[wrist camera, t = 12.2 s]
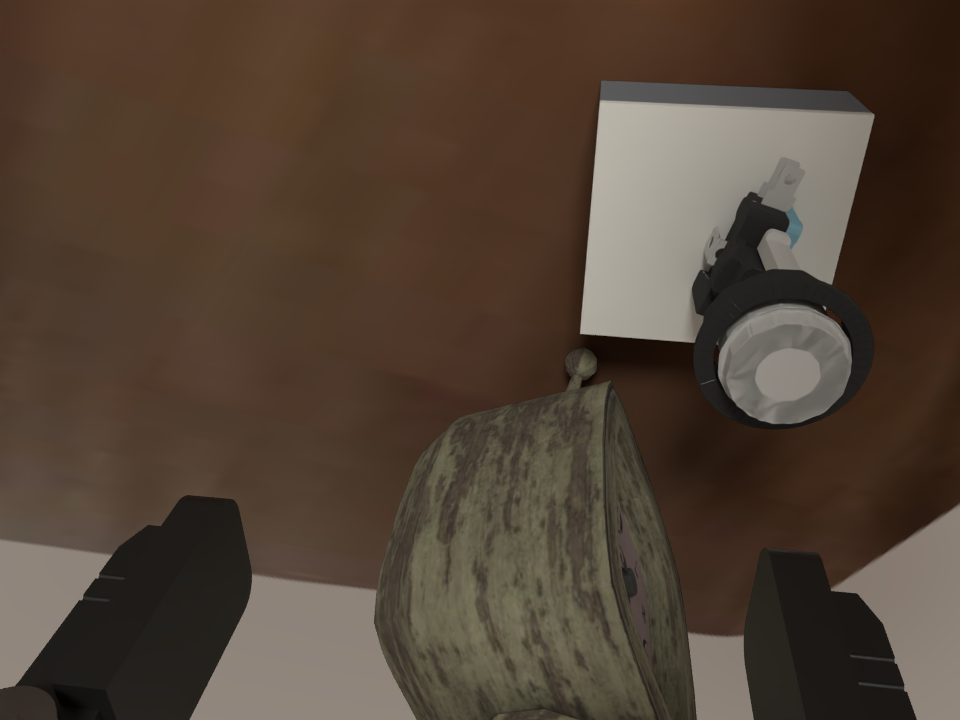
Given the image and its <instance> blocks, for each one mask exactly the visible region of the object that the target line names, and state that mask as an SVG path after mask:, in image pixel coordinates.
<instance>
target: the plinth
mask: <svg viewBox="0 0 960 720" xmlns="http://www.w3.org/2000/svg"><path fill="white" fill-rule="evenodd" d="M874 116H875V115H874V114H873V113H872V112H870V111H869V110H868V109H867V108H866V107H865V106H864V105H863V104H862V103H861V102H859V101H858V100H857V99H856V98H855V97H854V96H853V95H852V94H851V93H849V92H848V91H829V90H806V89H783V88H760V87H737V86H714V85H691V84H668V83H645V82H622V81H601V90H600V101H599V113H598V125H597V137H596V148H595V160H594V172H593V183H592V195H591V207H590V219H589V230H588V242H587V254H586V265H585V277H584V289H583V301H582V315H581V328H580V334H589V335H602V336H615V337H628V338H640V339H653V340H666V341H679V342H692V343H695V340H696V337H697V334H698V332H699V329H700V327H701V325H702V324H703V317H704V316H702V315H699V314H696V311H695V305H694V300H693V295H692V286H693V283H694V281H695V279H696V277H697V275H698V273H699V271H700V270H704V271H707V272H709V270H710V268H711V266H712V265H710V264H708V263H707V261H708V260H706V256H705V252H704V249H705V245H706V243H707V241H708V239H709V237H710V235H711V233H712V231H713V229H714V228H715V227H718V230H719V234H720V238H721V239H723V240H725V239H726V237H727V235H728V233H729V231H730V229H731V227H732V225H733V223H734V221H735V217H736V212H737V209H738V207H739V205H740V203H741V201H742V199H743V198H744V197H747V195H748V193H749V192H754V193H757V194H758V193H759V191H760V189H761V187H762V185H763V183H764V181H765V182H769V180H770V178H771V176H772V174H773V172H774V170H775V168H776V166H777V164H778V162H779V160H780V158H782V157H786V158H789V159H791V160H794V161H797V162H799V163H800V167H799V168H801V169H804V171H805V175H804V176H803V178H802V180H801V182H800V184H799V186H798V188H797V190H796V191H795V193H794V195H793V198H795V199H796V200H795V202H794V204H793V205H792V207H793V209H794V211H795V213H796V214H797V216H798V218H799V220H800V221H801V222H802V224H803V230H802V233H801V235H800V237H799V239H798V241H797V242H796V244H794V246H793V248H792V250H791V251H792V253H793V255H794V257H795V259H796V261H797V263H798V265H799V267H800V269H801V270H803V271H805V272H807V273H808V274H810V275H812V276H813V277H815V278H817V279H818V280H820V281H823V282H826V283H828V284H831V285H832V282H833V278H834V274H835V270H836V266H837V262H838V258H839V255H840V251H841V247H842V243H843V239H844V235H845V231H846V227H847V223H848V219H849V215H850V211H851V207H852V203H853V199H854V195H855V191H856V187H857V183H858V180H859V176H860V172H861V168H862V164H863V160H864V156H865V152H866V148H867V144H868V140H869V136H870V132H871V128H872V124H873V120H874ZM782 170H783V168H782V169H781V170H780V174H781V172H782ZM787 176H789V175H787ZM787 176H786V177H787ZM794 181H795V177H794V179H793V181H792V183H794ZM792 183H791V184H792ZM713 239H714V238H713ZM713 239H712V241H711V244H712V242H713ZM711 244H710V246H711ZM823 307H824V306H823ZM824 309H825V310H826V307H824ZM717 345H718V342H717Z"/></svg>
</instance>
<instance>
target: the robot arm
mask: <svg viewBox="0 0 960 720" xmlns="http://www.w3.org/2000/svg"><path fill="white" fill-rule="evenodd" d="M251 583H252V571H251V565H250V560H249V555H248V550H247V546H246V541H245V536H244V531H243V527H242V522H241V517H240V512H239V508H238V505H237V503H236V502H235V501H234V500H233V499H225V498H214V497H202V496H191V495H187V496H184V497H182V498H181V499H180V500H179V501H178V503H177V504H176V505H175V507H174V508H173V510H172V511H171V513H170V514H169V515H168V517H167V518H166V520H165V521H164V523H163V524H162V525H161V526H153V525H148V526H146V527H145V528H144V529H142V530H141V531H139V532H138V533H137V534H135V535H134V536H133V537H131V538H130V539H129V540H127V541H126V542H125V543H123V544H122V545H121V546H119V547H118V549H117V550H116V551H115V553H114V554H113V555H112V557H111V558H110V559H109V561H108V562H107V563H106V565H105V566H104V568H103V569H102V570H101V572H100V573H99V578H98V579H95V580H94V581H93V582H92V584H91V585H90V586H89V588H88V589H87V590H86V592H85V593H84V596H83V600H82V601H81V600H79V601H78V603H77V604H76V605H75V607H74V608H73V609H72V611H71V612H70V614H69V615H68V616H67V618H66V619H65V620H64V622H63V623H62V624H61V626H60V627H59V628H58V630H57V631H56V633H55V634H54V635H53V636H52V638H51V639H50V640H49V642H48V643H47V644H46V646H45V647H44V648H43V650H42V651H41V653H40V654H39V655H38V657H37V658H36V659H35V661H34V662H33V663H32V665H31V666H30V667H29V669H28V670H27V671H26V673H25V674H24V676H23V677H22V678H21V680H20V681H19V682H18V683H17V684H16V686H12V687H8V688H3V689H0V720H189V719H190V717H191V715H192V713H193V711H194V709H195V708H196V706H197V704H198V702H199V700H200V698H201V696H202V694H203V692H204V689H205V688H206V686H207V684H208V682H209V680H210V678H211V676H212V674H213V672H214V670H215V668H216V666H217V664H218V662H219V660H220V658H221V656H222V654H223V652H224V650H225V648H226V646H227V644H228V642H229V640H230V638H231V636H232V635H233V632H234V631H235V629H236V626H237V624H238V623H239V621H240V619H241V617H242V615H243V613H244V611H245V608H246V606H247V603H248V600H249V596H250V591H251ZM744 658H745V667H746V673H747V680H748V686H749V692H750V699H751V704H752V711H753V717H754V720H917V719H916V716H915V713H914V711H913V708H912V705H911V702H910V699H909V696H908V694H907V692H905V691H904V682H903V679H902V677H901V674H900V671H899V668H898V666H897V664H895V662H894V658H895V657H894V654H893V651H892V648H891V646H890V643H889V640H888V637H887V634H886V631H885V629H884V626H883V624H882V622H880V620H879V619H878V618H877V617H876V615H875V614H874V613H873V612H872V611H871V609H870V608H869V607H868V606H867V605H866V604H865V602H864V601H863V600H862V599H861V598H860V597H859V595H858V594H856V593H846V592H835V591H831V589H830V586H829V582H828V579H827V576H826V572H825V569H824V566H823V562H822V560H821V557H820V555H819V554H818V553H815V552H804V551H793V550H781V549H770V548H764V549H762V551H761V554H760V557H759V561H758V566H757V570H756V575H755V579H754V584H753V589H752V593H751V598H750V603H749V607H748V612H747V616H746V622H745V630H744Z"/></svg>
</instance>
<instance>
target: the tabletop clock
mask: <svg viewBox="0 0 960 720" xmlns="http://www.w3.org/2000/svg"><path fill="white" fill-rule="evenodd" d="M565 370H566V371H567V373H568V374H569V375H570V376H571V379H570V382H569V384H568V386H567V388H566V390H565V392H562V393H558V394H554V395H550V396H545V397H541V398H537V399H533V400H529V401H525V402H520V403H516V404H512V405H508V406H504V407H499V408H495V409H491V410H487V411H483V412H479V413H474V414H470V415H466V416H462V417H461V418H459V419H458V420H457V421H455V422H454V423H453V424H452V425H451V426H450V427H448V428H447V429H446V430H445V431H444V432H443V433H442V434H441V435H440V436H439V437H438V438H437V439H436V440H435V441H434V442H433V443H432V444H431V445H430V446H429V447H428V448H427V449H426V450H425V451H424V452H423V454H422V455H421V457H420V458H419V460H418V462H417V463H416V465H415V468H414V470H413V473H412V475H411V478H410V480H409V483H408V485H407V488H406V490H405V493H404V495H403V498H402V500H401V503H400V505H399V508H398V511H397V515H396V518H395V522H394V525H393V528H392V532H391V535H390V539H389V542H388V546H387V549H386V552H385V556H384V559H383V563H382V567H381V572H380V577H379V582H378V588H377V593H376V605H375V617H374V624H375V628H376V631H377V635H378V638H379V642H380V645H381V649H382V651H383V654H384V656H385V659H386V662H387V664H388V666H389V668H390V670H391V672H392V674H393V676H394V678H395V680H396V682H397V684H398V686H399V688H400V689H401V691H402V693H403V695H404V697H405V699H406V701H407V702H408V704H409V706H410V708H411V710H412V711H413V714H414V715H415V717H416V719H417V720H697V719H696V706H695V695H694V685H693V676H692V668H691V659H690V650H689V642H688V633H687V625H686V618H685V611H684V604H683V598H682V592H681V586H680V580H679V575H678V571H677V567H676V564H675V560H674V556H673V552H672V549H671V546H670V542H669V539H668V535H667V532H666V529H665V526H664V523H663V520H662V517H661V514H660V511H659V508H658V504H657V501H656V498H655V495H654V492H653V489H652V486H651V483H650V480H649V477H648V474H647V471H646V468H645V465H644V462H643V459H642V457H641V454H640V451H639V448H638V446H637V443H636V440H635V437H634V434H633V432H632V429H631V426H630V423H629V420H628V418H627V415H626V412H625V409H624V407H623V405H622V402H621V400H620V397H619V395H618V393H617V391H616V389H615V386H614V384H613V382H612V381H608V382H604V383H600V384H596V385H591V386H587V387H583V388H580V387H581V382H582V380H587V379H588V378H590V377H591V376H592V375H593V374H594V373H595V372H596V370H597V358H596V357H595V355H594V354H593V352H592V351H590V350H588V349H586V348H576V349H574V350H573V351H571V352H570V353H569V354H568V355H567V357H566V359H565Z"/></svg>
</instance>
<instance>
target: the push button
mask: <svg viewBox="0 0 960 720" xmlns="http://www.w3.org/2000/svg"><path fill="white" fill-rule="evenodd" d="M799 167H800V163H799V162H797V161H794V160H791V159H789V158H786V157H782V158H780V160H779V162H778V164H777V166H776V168H775V170H774V172H773V174H772V176H771V178H770V180H769V182H765V181H764V183H763V185H762V187H761V189H760V191H759V193H758V194H757V193H754V192H749V193H748V195H747V197H744V198H743V199H742V201H741V203H740V205H739V207H738V209H737V212H736V217H735V221H734V223H733V225H732V227H731V229H730V231H729V233H728V235H727V237H726V239H725V240H723V239H721V238H720V234H719V230H718V227H715V228H714V229H713V231H712V233H711V235H710V237H709V239H708V241H707V243H706V245H705V249H704V252H705V256H706V260H708V261H707V263H708V264H710V265H712V266H711V268H710V270H709V272H707V271H704V270H700V271H699V273H698V275H697V277H696V279H695V281H694V283H693V286H692V295H693V300H694V305H695V311H696V314H699V315H702V316H704V317H703V324H702V325H701V327H700V329H699V332H698V334H697V337H696V340H695V344H694V350H693V364H694V371H695V376H696V380H697V382H698V385H699V387H700V389H701V391H702V393H703V395H704V396H705V398H706V399H707V400H708V401H709V402H710V404H711V405H712V406H713V407H714V408H715V409H717V410H718V411H719V412H720V413H722V414H723V415H725V416H726V417H728V418H730V419H732V420H734V421H736V422H738V423H741V424H744V425H747V426H751V427H755V428H762V429H789V428H795V427H800V426H804V425H808V424H811V423H813V422H816V421H819V420H821V419H823V418H825V417H827V416H829V415H831V414H832V413H834V412H836V411H837V410H838V409H840V408H841V407H843V406H844V405H845V404H846V403H847V402H848V401H849V400H850V399H851V398H852V397H853V396H854V395H855V394H856V393H857V392H858V390H859V389H860V388H861V386H862V385H863V383H864V382H865V380H866V378H867V376H868V374H869V371H870V368H871V365H872V361H873V354H874V341H873V335H872V331H871V328H870V325H869V323H868V321H867V319H866V317H865V316H864V314H863V312H862V311H861V309H860V308H859V306H858V305H857V304H856V303H855V302H854V300H853V299H851V298H850V297H849V296H848V295H847V294H846V293H844V292H843V291H841V290H840V289H838V288H836V287H835V286H833V285H831V284H828V283H826V282H823V281H820V280H818V279H817V278H815V277H813V276H812V275H810V274H808V273H807V272H805V271H803V270H801V269H800V267H799V265H798V263H797V261H796V259H795V257H794V255H793V253H792V251H791V250H792V248H793V246H794V244H796V242H797V241H798V239H799V237H800V235H801V233H802V230H803V224H802V222H801V221H800V220H799V218H798V216H797V214H796V213H795V211H794V209H793V207H792V205H793V204H794V202H795V200H796V199H795V198H793V195H794V193H795V191H796V190H797V188H798V186H799V184H800V182H801V180H802V178H803V176H804V175H805V171H804V169H801V168H799ZM782 168H783V170H782V172H781V174H780V170H781V169H782ZM787 175H789V176H787ZM786 176H787V177H786ZM794 177H795V181H794V183H792V181H793V179H794ZM791 183H792V184H791ZM713 238H714V239H713ZM712 239H713V242H712V244H711V241H712ZM710 244H711V246H710ZM823 306H824V307H826V308H828V309H829V310H831V311H832V312H834V313H835V314H836V315H837V316H838V317H839V318H840V319H841V324H842V329H841V328H840V326H839V325H838V324H837V323H836V322H835V321H834V320H832V319H831V318H829V317H828V315H827V313H826V311H825V309H824V307H823ZM717 342H718V347H719V351H720V354H719V364H718V367H717V365H716V364H715V362H714V360H713V355H714V350H715V347H716V344H717Z"/></svg>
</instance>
